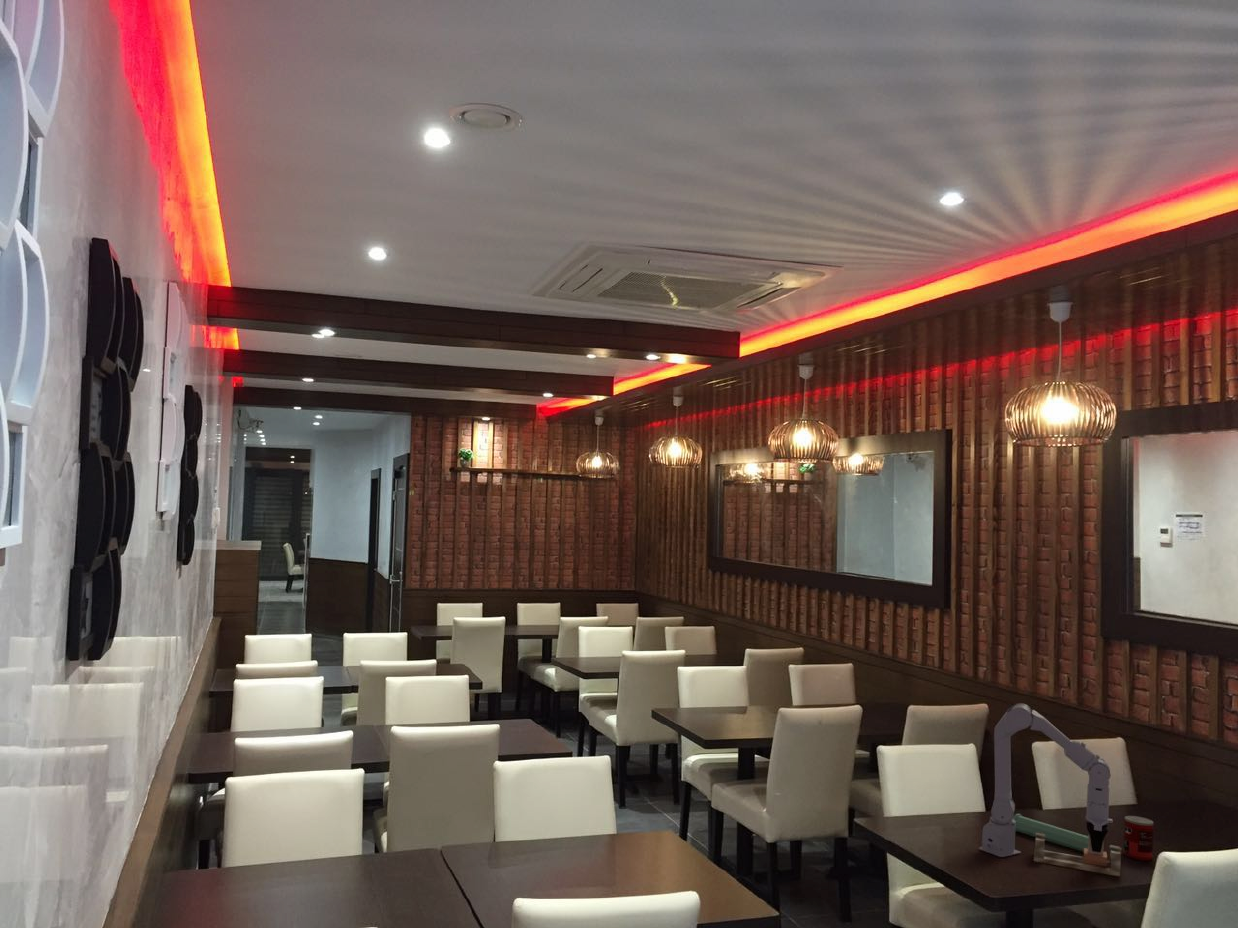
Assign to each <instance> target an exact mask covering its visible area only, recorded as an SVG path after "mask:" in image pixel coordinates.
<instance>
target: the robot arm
mask: <svg viewBox="0 0 1238 928" xmlns="http://www.w3.org/2000/svg"><path fill="white" fill-rule="evenodd" d="M1029 727H1030V730H1032V731H1039V732H1042V733H1043V734H1044V735H1046V737H1048V739H1051V740H1052V741H1053V742H1054V743H1056V744H1057V745H1058V746H1060V747H1061V748H1062V749H1063V751H1064V756H1065V757H1066V758H1067V759H1069V760H1070V761H1072V762H1073V763H1074V764H1075V765H1076V766H1077V767H1078V768H1080V769H1081V770H1082V771H1086V772H1087V775H1088V784H1087V793H1086V815H1085V821H1086V822H1085V824H1086V830H1087V831H1088V833H1089V835H1090V839H1091V847H1092V851H1094V852H1101V849H1102V844H1103V840H1104V839H1105V838H1106V835H1107V834H1108V832H1109V829H1108V828H1107V827H1108V824H1109V823H1111V824H1112V823H1113V819H1112V818H1109V806H1110V802H1109V801H1110V787H1109V785H1110V778H1111V775H1112V774H1111V770H1110V766H1109V764H1108V762H1106V761H1105V759H1103V758H1101V756H1100V755H1098V754H1095V753H1094V752H1092V751H1091V750H1090V749H1089V748H1087V747H1086V746H1087V744H1086V743H1084V742H1083V741H1082V742H1080V741H1079V740H1072V739H1070V738H1068V736H1066V735H1065V734H1064V733H1063V732H1062V731H1060V730H1059V729H1058V728H1057V727H1056V726H1054V725H1053V724H1052V723H1051V722H1050V721H1049V720H1048V719H1047V718H1046V717H1045V716H1043V715H1042V714H1040V713H1039V712H1038V711H1036V710H1035V709H1031V707H1030V706H1029V705H1028V704H1025V703H1015V704H1014V705H1012V706H1010V708H1007V710H1006V712H1005V713H1004V714H1003V716H1002V717H1001V718H1000V720H999V721H998V722H997V723H996V725H995V727H994V731H993V732H994V733H993V739H994V743H993V744H994V799H993V802H992V807H991V810H990V811H991V815H990V818H989V821H988V822H987V823H986V824H984V825H983V828H982V835H981V836H982V837H981V846H980V847H979V850H980V851H983V852H986V853H988V854H992V855H994V856H997V857H1000V858H1004V857H1005V858H1006V857H1010V856H1015V855H1020V854H1021V853H1022V851H1020V850H1018V849H1015V847H1016V832H1015V826H1016V821H1015V820H1014V819H1013V817H1014V815H1015V810H1016V804H1015V802H1014V799H1013V797H1012V795H1013V794H1012V769H1011V767H1012V763H1011V761H1012V760H1011V752H1012V751H1011V737H1012V736H1013V735H1014V734H1016V733H1017V732H1018V731H1022V730H1025V729H1027V728H1029Z"/></svg>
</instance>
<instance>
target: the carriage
mask: <svg viewBox="0 0 1238 928" xmlns="http://www.w3.org/2000/svg"><path fill="white" fill-rule="evenodd" d="M1087 836H1088V849H1086V848H1084V852H1083V857H1084V863H1089V864H1095V865H1101V866H1106V867H1107V861H1108V854H1107V851H1104V847H1105V846H1104V842H1105V841H1104V840H1103V844H1102V849H1101V852H1094V851H1092V847H1091V839H1090V835H1089V832H1088V835H1087Z"/></svg>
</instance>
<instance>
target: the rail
mask: <svg viewBox="0 0 1238 928" xmlns="http://www.w3.org/2000/svg"><path fill="white" fill-rule="evenodd" d="M1045 838H1046V835H1045V834H1041V833H1036V834H1035V849H1034V853H1033V862H1036V863H1043V864H1048V865H1053V866H1054V865H1055V866H1060V867H1065V868H1071V869H1076V870H1083V871H1087V872H1094V873H1099V874H1105V875H1109V876H1116V877H1121V863H1122V862H1121V861H1122V860H1121V857H1122V856H1121V852H1122V850H1123V848H1122V847H1120V846H1117V845H1113V844H1110V845H1109V846H1108V847H1109V860H1107V867H1106V866H1101V865H1095V864H1089V863H1084V856H1080V855H1074V854H1069V853H1068V854H1067V853H1062V852H1059V851H1051V850H1047V849H1045V841H1046V840H1045Z"/></svg>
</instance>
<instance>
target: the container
mask: <svg viewBox="0 0 1238 928" xmlns="http://www.w3.org/2000/svg"><path fill="white" fill-rule="evenodd" d="M1013 819H1014V820H1015V821H1016V826H1015V833H1018V832H1019V833H1021V834H1025V835H1027V836H1031V837H1035V834H1036V833H1041V834H1045V835H1046V838H1045V841H1047V842H1051V843H1053V844H1057V845H1059V846H1062V847H1067V848H1069V849H1073V850H1075V851H1080V852H1083V853H1084V848H1086V849H1088V835H1085V834H1081V833H1080V832H1079V833H1078V832H1075V831H1072V830H1069V829H1065V828H1062V827H1059V826H1055V825H1052V824H1048V823H1046V822H1042V821H1039V820H1035V819H1032V818H1030V817H1025V816H1023V815H1022V814H1021V813H1016V814H1015V813H1014V817H1013ZM1035 838H1036V837H1035Z"/></svg>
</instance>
